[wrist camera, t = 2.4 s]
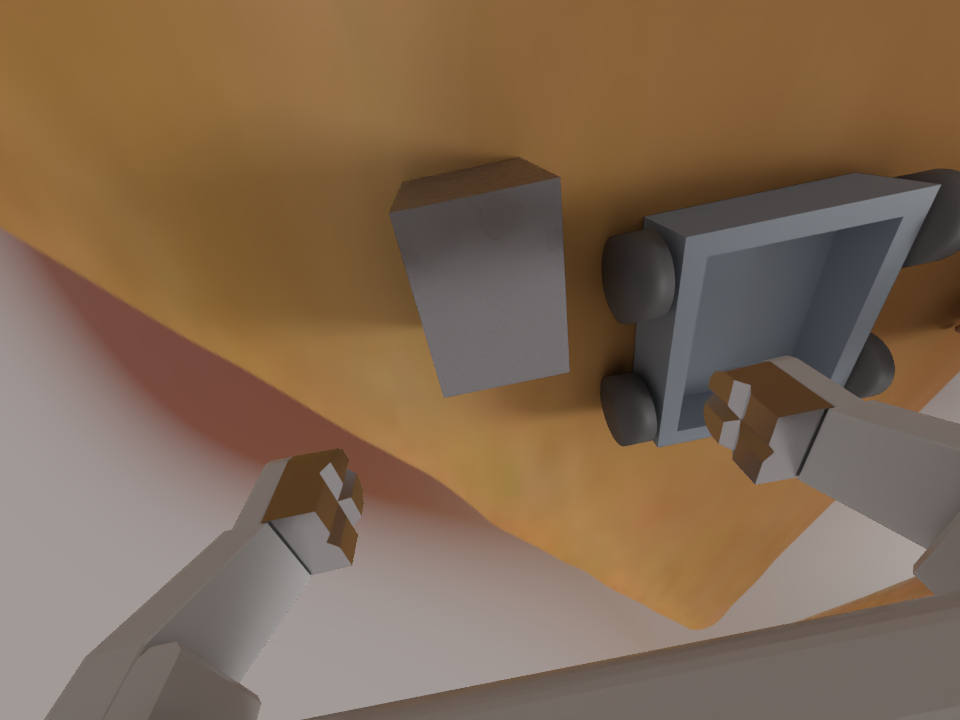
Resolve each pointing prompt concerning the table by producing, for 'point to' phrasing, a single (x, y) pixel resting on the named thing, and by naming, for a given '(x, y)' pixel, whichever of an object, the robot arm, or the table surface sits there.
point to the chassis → (766, 290)
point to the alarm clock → (957, 328)
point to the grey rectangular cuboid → (487, 272)
